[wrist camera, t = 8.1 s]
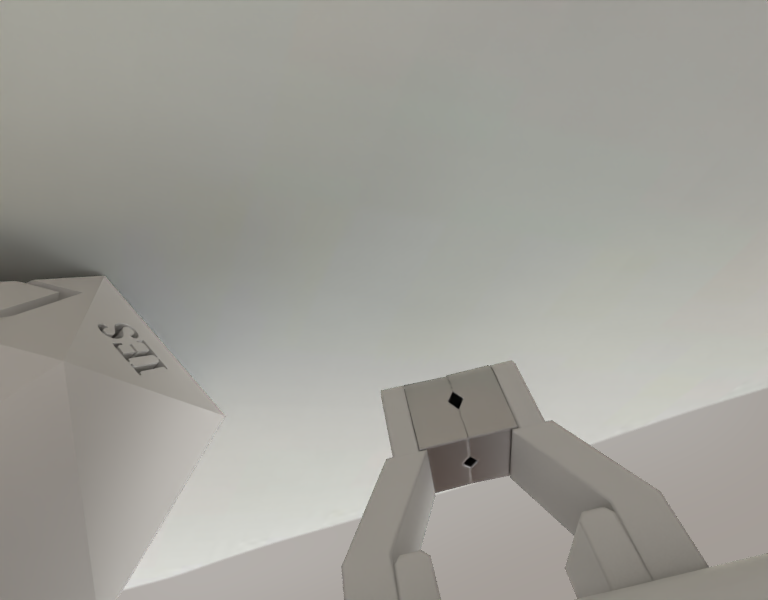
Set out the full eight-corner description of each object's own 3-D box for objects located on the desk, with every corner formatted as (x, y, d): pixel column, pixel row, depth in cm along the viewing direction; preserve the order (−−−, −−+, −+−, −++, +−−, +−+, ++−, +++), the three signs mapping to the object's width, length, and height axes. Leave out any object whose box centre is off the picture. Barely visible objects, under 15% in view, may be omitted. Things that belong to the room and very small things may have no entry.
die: (278, 302, 16) (22, 375, 6) (226, 544, 16) (-76, 981, 6) (45, 244, 16) (-573, 216, 6) (6, 482, 17) (-586, 797, 7)
